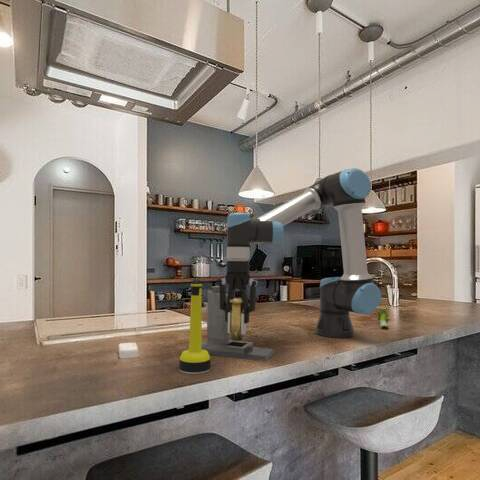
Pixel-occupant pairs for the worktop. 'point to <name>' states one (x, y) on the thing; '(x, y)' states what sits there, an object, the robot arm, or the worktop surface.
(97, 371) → the worktop surface
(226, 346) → the grey socket base
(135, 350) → the soap
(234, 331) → the pin
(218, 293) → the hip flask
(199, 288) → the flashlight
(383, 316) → the leek
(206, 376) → the worktop surface
